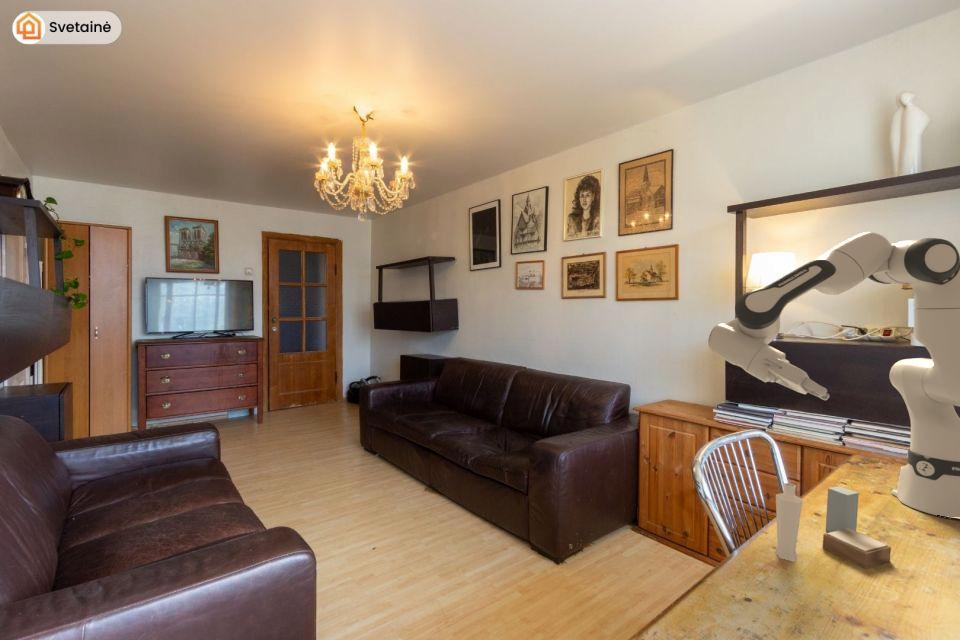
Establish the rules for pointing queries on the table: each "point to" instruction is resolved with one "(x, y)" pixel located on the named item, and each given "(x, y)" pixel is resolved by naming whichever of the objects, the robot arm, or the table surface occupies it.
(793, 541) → the perfume bottle
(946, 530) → the table surface
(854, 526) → the grey tall block
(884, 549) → the plinth
